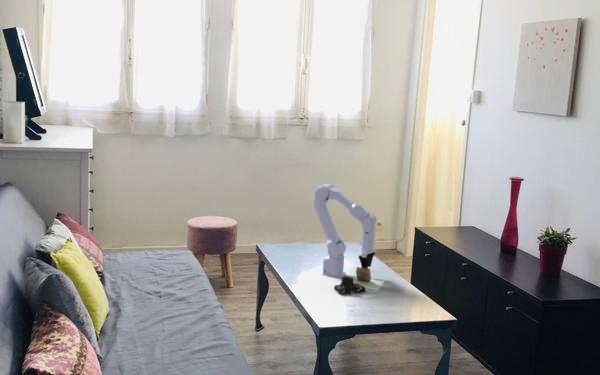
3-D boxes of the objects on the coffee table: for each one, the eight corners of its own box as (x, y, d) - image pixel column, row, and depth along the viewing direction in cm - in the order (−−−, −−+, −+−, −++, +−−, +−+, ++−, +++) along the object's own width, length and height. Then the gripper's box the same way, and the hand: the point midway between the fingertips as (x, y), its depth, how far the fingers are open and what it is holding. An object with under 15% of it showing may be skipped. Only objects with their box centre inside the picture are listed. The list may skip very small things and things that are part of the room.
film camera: (361, 275, 286) (366, 276, 277) (362, 292, 286) (367, 294, 276) (332, 277, 284) (336, 278, 275) (333, 294, 284) (337, 296, 274)
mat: (339, 285, 289) (339, 284, 288) (347, 276, 302) (347, 275, 302) (378, 290, 283) (378, 289, 283) (385, 281, 296) (385, 280, 296)
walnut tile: (357, 280, 295) (355, 271, 290) (358, 276, 296) (357, 267, 292) (370, 282, 293) (368, 272, 288) (371, 278, 295) (369, 268, 290)
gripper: (373, 245, 287) (371, 274, 289) (379, 238, 300) (377, 265, 303) (358, 243, 289) (356, 271, 291) (365, 236, 303) (363, 263, 305)
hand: (366, 268), depth 297 cm, fingers open, 7 cm apart
